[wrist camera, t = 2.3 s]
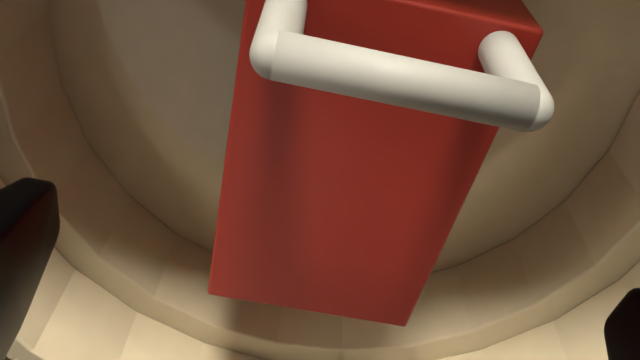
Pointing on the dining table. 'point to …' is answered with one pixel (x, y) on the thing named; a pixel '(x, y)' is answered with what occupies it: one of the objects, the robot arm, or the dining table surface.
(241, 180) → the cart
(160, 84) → the bowl
